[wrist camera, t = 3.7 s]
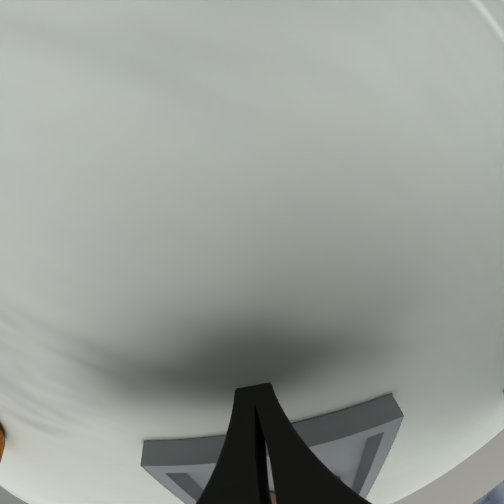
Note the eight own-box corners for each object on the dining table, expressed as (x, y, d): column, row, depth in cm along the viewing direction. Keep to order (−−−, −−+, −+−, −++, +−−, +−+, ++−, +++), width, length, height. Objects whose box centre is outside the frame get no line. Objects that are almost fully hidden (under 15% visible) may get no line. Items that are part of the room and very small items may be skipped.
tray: (386, 385, 14) (403, 415, 12) (356, 484, 22) (362, 502, 20) (145, 431, 14) (140, 465, 12) (221, 511, 21) (223, 530, 19)
